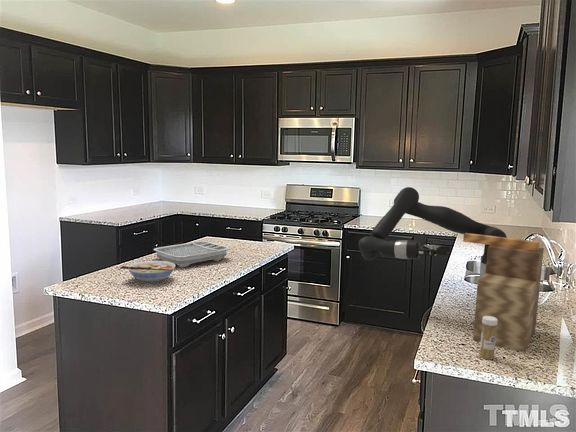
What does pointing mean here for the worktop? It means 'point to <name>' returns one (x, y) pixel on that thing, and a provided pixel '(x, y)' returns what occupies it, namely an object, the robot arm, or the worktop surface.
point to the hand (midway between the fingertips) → (448, 250)
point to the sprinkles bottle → (488, 337)
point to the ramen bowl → (150, 270)
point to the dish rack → (191, 252)
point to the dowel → (501, 241)
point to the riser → (509, 295)
